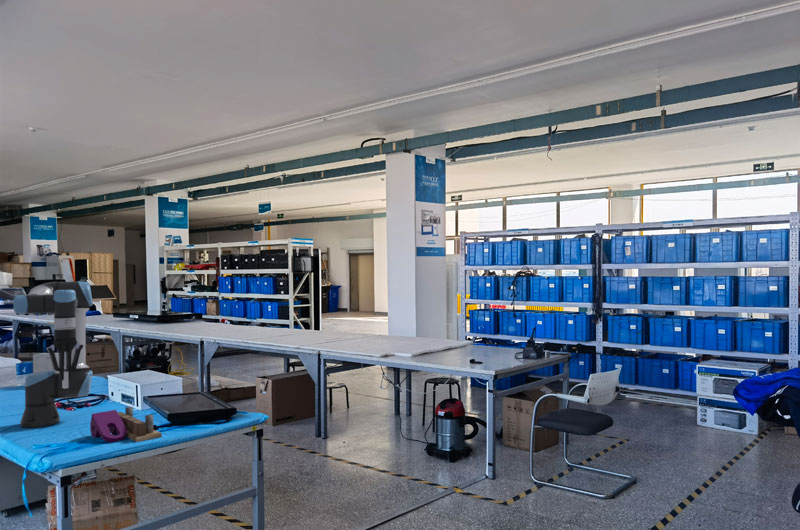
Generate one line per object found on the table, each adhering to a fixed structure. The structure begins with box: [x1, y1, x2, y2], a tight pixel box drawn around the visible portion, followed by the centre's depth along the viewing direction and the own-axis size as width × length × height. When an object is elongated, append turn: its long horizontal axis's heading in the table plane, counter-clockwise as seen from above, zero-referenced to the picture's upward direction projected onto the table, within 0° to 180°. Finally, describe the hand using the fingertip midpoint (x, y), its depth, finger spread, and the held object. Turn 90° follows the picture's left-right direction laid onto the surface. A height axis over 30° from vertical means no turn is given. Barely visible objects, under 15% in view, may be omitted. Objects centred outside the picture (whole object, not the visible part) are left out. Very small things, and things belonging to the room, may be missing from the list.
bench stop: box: [117, 406, 163, 443], centre depth 244 cm, size 32×10×8 cm, turn 45°
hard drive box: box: [32, 352, 59, 374], centre depth 354 cm, size 16×8×20 cm, turn 74°
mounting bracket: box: [89, 409, 127, 443], centre depth 237 cm, size 9×8×18 cm
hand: (65, 387), depth 228 cm, fingers closed
